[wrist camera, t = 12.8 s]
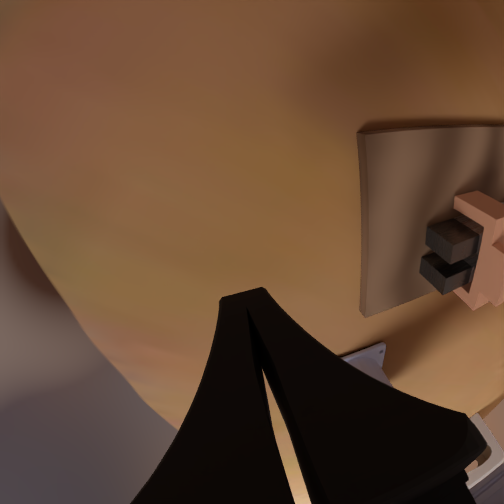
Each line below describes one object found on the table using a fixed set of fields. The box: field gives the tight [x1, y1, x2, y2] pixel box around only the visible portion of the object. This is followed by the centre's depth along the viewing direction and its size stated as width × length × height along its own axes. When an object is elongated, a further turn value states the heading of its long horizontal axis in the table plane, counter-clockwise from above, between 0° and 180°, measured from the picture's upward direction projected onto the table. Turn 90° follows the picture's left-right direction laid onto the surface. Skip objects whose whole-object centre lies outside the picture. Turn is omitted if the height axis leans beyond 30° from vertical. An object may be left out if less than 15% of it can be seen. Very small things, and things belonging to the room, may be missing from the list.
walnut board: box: [357, 125, 504, 318], centre depth 21 cm, size 25×14×1 cm, turn 101°
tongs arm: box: [425, 202, 504, 264], centre depth 19 cm, size 14×2×3 cm, turn 101°
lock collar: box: [453, 191, 504, 311], centre depth 18 cm, size 3×8×6 cm, turn 11°
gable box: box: [466, 413, 504, 489], centre depth 46 cm, size 22×13×28 cm, turn 111°
